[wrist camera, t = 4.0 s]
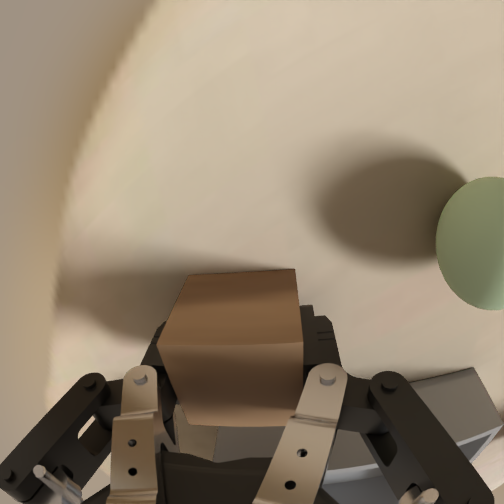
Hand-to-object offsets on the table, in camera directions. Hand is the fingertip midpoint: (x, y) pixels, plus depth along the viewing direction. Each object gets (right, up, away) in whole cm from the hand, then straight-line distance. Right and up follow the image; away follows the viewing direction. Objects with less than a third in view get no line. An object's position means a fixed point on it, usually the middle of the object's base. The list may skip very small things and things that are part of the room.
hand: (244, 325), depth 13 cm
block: (0, 0, +1) cm, 1 cm away
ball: (+10, +5, -2) cm, 11 cm away
